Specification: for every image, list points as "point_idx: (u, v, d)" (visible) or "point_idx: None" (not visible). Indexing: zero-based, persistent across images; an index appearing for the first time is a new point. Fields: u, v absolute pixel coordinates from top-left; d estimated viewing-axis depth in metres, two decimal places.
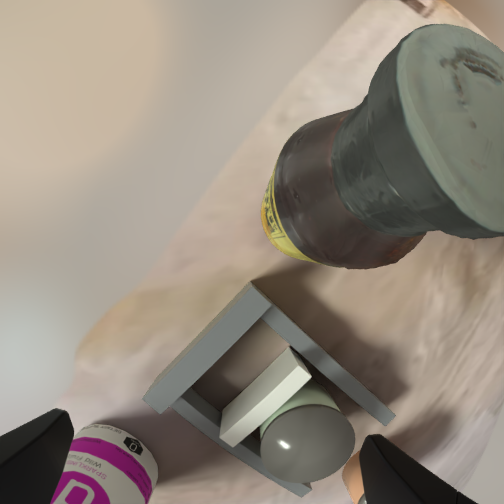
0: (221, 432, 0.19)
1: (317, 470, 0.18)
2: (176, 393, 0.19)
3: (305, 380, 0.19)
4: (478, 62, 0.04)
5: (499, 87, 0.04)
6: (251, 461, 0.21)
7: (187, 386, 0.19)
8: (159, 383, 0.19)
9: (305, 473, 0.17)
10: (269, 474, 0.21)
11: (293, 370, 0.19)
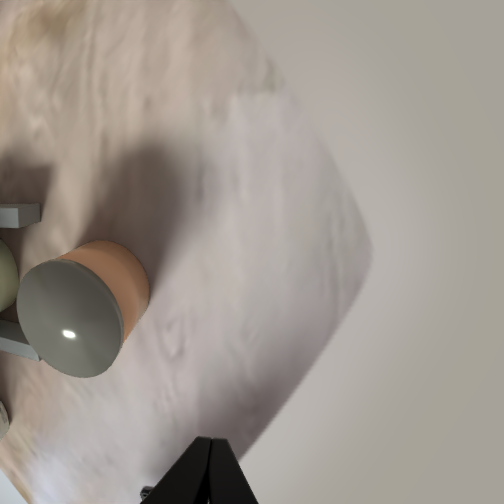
0: None
1: None
2: None
3: None
4: None
5: None
6: None
7: None
8: None
9: None
10: None
11: None
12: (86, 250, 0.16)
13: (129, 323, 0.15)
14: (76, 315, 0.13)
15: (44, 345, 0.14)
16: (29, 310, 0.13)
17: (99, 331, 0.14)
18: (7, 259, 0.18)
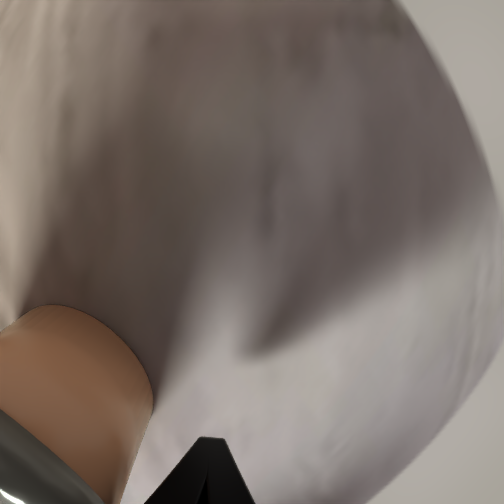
0: None
1: None
2: None
3: None
4: None
5: None
6: None
7: None
8: None
9: None
10: None
11: None
12: (17, 344, 0.06)
13: (121, 488, 0.06)
14: (12, 494, 0.04)
15: None
16: None
17: None
18: None
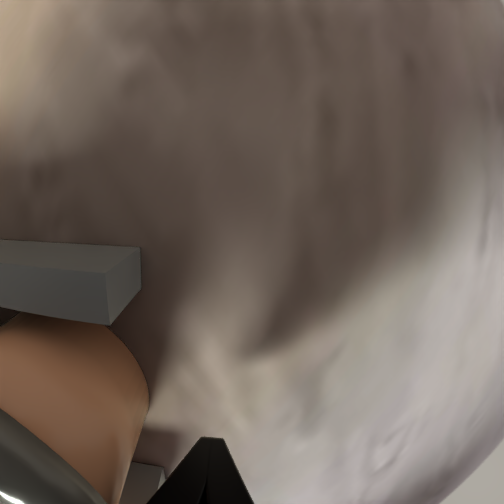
0: None
1: None
2: None
3: None
4: None
5: None
6: None
7: None
8: None
9: None
10: None
11: None
12: (14, 342, 0.06)
13: (120, 486, 0.06)
14: (13, 494, 0.04)
15: None
16: None
17: None
18: None
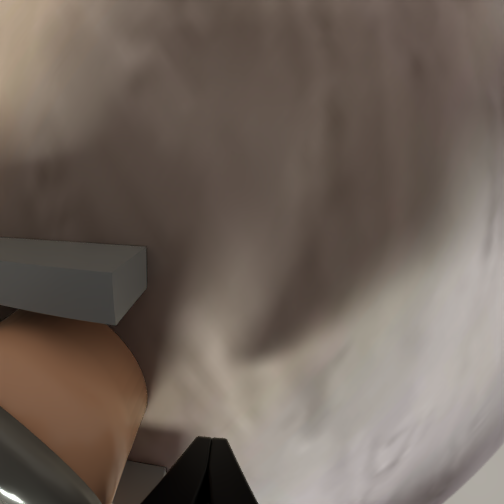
0: None
1: None
2: None
3: None
4: None
5: None
6: None
7: None
8: None
9: None
10: None
11: None
12: (13, 337, 0.06)
13: (115, 483, 0.06)
14: (6, 488, 0.04)
15: None
16: None
17: None
18: None
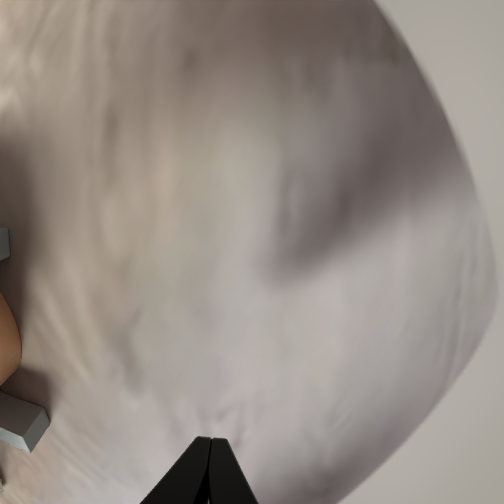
0: None
1: None
2: None
3: None
4: None
5: None
6: None
7: None
8: None
9: None
10: None
11: None
12: None
13: None
14: None
15: None
16: None
17: None
18: None
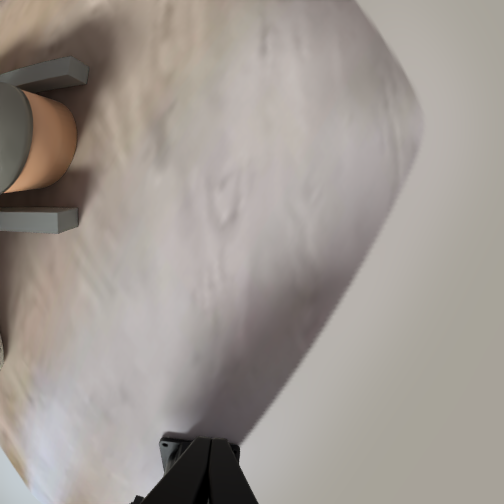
0: None
1: None
2: None
3: None
4: None
5: None
6: None
7: None
8: None
9: None
10: (8, 225, 0.16)
11: None
12: None
13: (42, 143, 0.13)
14: None
15: None
16: None
17: (9, 135, 0.11)
18: None
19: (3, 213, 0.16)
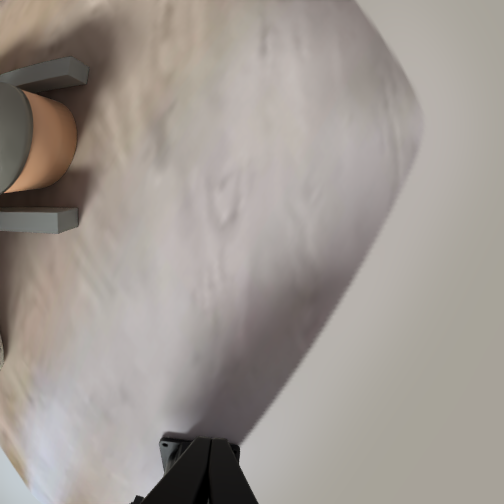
0: None
1: None
2: None
3: None
4: None
5: None
6: None
7: None
8: None
9: None
10: (8, 225, 0.16)
11: None
12: None
13: (42, 143, 0.13)
14: None
15: None
16: None
17: (9, 135, 0.11)
18: None
19: (3, 213, 0.16)
